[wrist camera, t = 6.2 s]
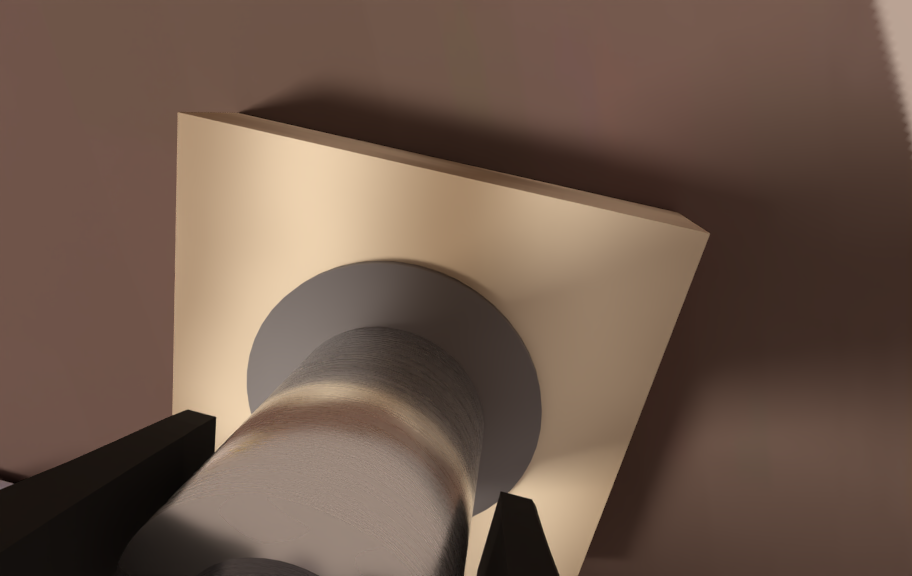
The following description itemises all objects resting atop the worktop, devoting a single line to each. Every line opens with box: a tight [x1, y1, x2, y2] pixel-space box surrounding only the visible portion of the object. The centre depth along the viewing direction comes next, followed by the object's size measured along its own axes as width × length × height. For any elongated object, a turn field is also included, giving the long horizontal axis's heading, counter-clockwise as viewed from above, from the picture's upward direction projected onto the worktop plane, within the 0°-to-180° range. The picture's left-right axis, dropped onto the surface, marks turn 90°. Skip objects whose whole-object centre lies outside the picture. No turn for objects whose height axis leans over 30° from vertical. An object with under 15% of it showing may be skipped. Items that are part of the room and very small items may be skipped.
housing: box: [115, 327, 484, 576], centre depth 10 cm, size 5×5×7 cm
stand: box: [173, 112, 710, 576], centre depth 14 cm, size 12×12×3 cm
